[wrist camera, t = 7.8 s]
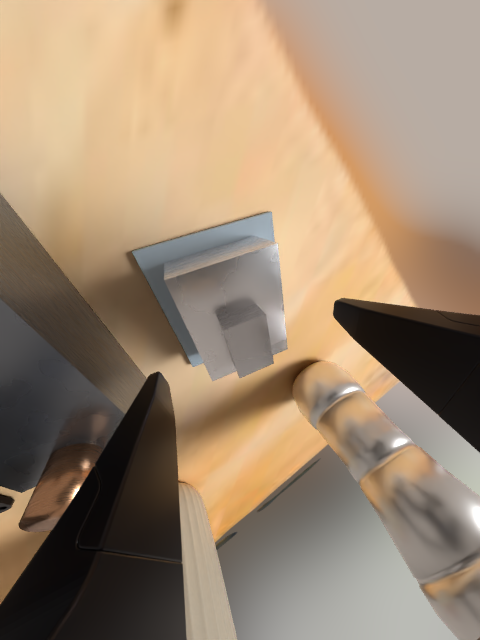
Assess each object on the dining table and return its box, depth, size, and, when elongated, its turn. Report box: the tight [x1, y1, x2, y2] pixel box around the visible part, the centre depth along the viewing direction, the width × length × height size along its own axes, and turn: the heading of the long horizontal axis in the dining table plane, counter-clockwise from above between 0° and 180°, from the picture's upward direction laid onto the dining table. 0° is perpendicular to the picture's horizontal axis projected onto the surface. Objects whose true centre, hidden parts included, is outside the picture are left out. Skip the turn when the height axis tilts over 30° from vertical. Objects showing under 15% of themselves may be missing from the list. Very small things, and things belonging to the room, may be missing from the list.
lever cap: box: [164, 235, 287, 381], centre depth 11 cm, size 7×5×4 cm
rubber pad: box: [132, 212, 275, 367], centre depth 13 cm, size 9×8×1 cm
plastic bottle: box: [293, 361, 480, 640], centre depth 14 cm, size 6×7×20 cm
